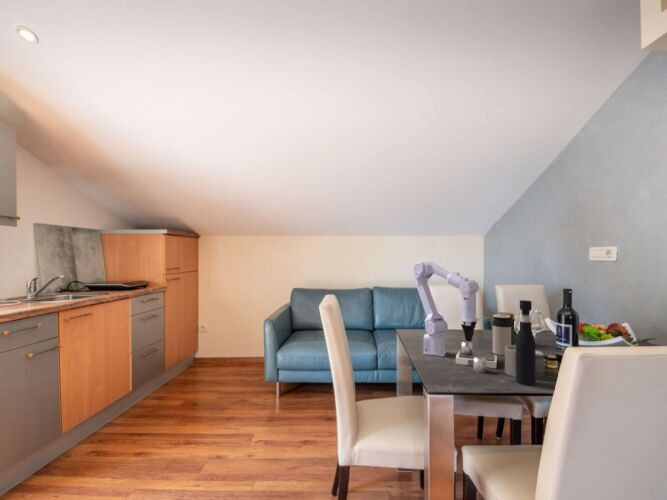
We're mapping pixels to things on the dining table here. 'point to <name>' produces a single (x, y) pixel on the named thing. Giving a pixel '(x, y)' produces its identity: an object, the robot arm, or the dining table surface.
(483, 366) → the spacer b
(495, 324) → the travel mug
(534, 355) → the black water bottle
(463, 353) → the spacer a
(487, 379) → the dining table surface
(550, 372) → the dining table surface
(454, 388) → the dining table surface
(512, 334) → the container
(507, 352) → the grey upright block
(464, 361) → the cream u-shaped bracket
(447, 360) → the dining table surface
